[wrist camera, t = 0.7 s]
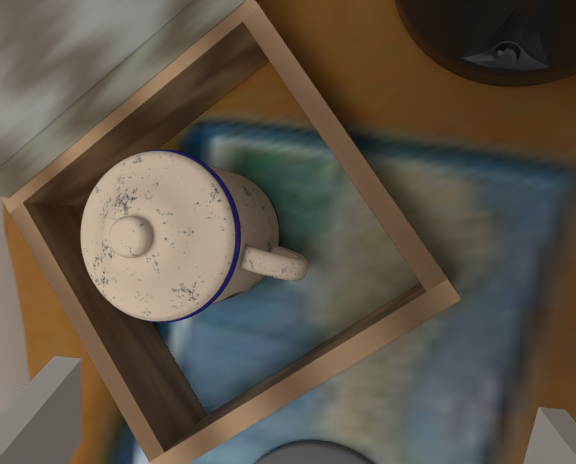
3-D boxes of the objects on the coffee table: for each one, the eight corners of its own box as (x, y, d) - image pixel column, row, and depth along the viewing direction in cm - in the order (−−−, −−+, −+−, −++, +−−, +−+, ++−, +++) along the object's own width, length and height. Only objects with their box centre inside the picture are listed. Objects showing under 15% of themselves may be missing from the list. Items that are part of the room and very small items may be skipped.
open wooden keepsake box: (229, -40, 35) (-289, -766, 9) (453, 285, 31) (597, 534, 6) (30, 133, 39) (-697, -45, 14) (206, 435, 36) (-335, 958, 10)
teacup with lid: (148, 278, 36) (24, 301, 25) (177, 155, 35) (64, 120, 24) (305, 330, 33) (246, 383, 22) (341, 196, 32) (299, 179, 21)
